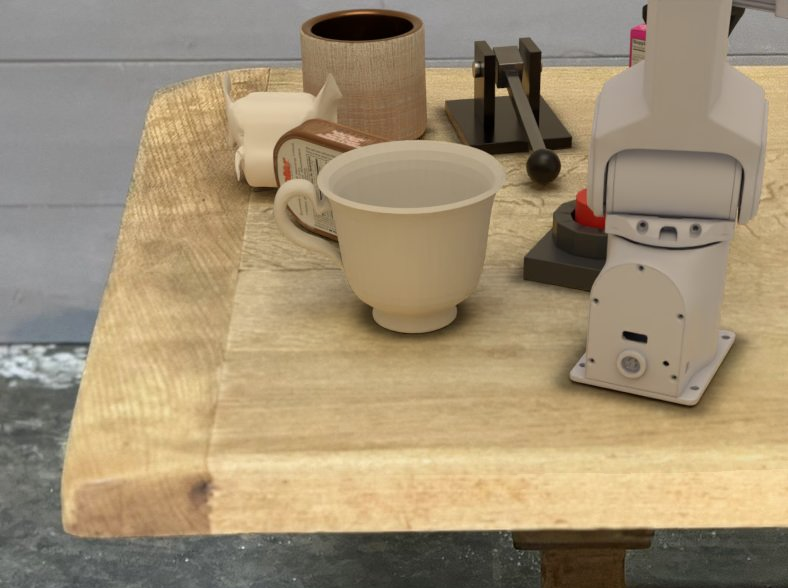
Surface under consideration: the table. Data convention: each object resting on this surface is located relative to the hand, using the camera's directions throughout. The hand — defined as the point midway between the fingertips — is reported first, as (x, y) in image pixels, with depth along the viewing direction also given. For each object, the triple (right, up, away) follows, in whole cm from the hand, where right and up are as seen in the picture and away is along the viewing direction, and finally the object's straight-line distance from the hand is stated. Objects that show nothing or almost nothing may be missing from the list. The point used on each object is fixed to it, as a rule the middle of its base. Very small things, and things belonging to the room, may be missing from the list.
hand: (684, 108), depth 91 cm
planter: (-22, +6, +28) cm, 36 cm away
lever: (-9, +4, +21) cm, 23 cm away
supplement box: (+3, +1, +20) cm, 20 cm away
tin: (-23, -8, +9) cm, 26 cm away
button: (-5, -7, +3) cm, 9 cm away
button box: (-5, -10, +5) cm, 12 cm away
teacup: (-20, -15, -1) cm, 25 cm away
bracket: (-10, +6, +28) cm, 30 cm away
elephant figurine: (-29, -1, +19) cm, 35 cm away
